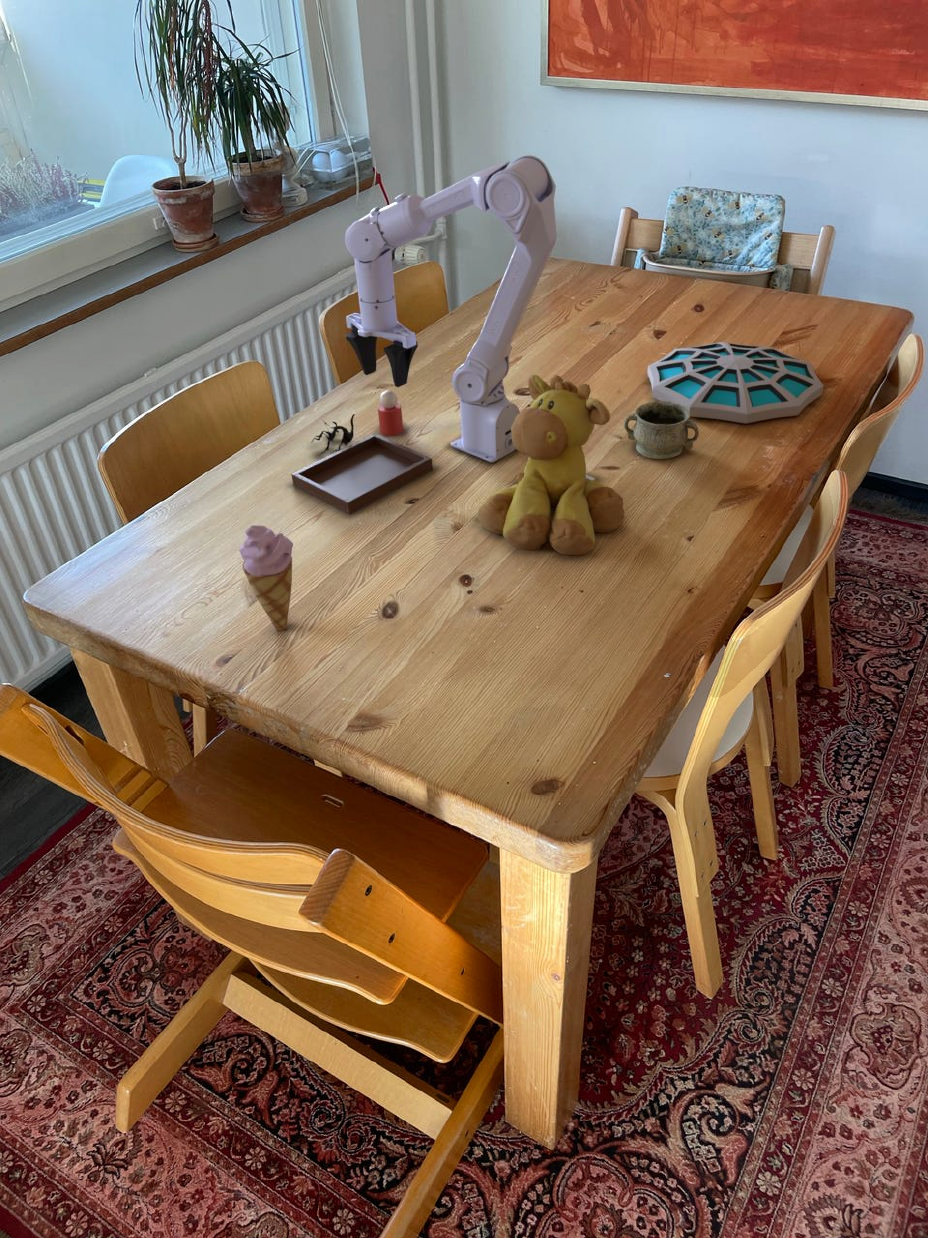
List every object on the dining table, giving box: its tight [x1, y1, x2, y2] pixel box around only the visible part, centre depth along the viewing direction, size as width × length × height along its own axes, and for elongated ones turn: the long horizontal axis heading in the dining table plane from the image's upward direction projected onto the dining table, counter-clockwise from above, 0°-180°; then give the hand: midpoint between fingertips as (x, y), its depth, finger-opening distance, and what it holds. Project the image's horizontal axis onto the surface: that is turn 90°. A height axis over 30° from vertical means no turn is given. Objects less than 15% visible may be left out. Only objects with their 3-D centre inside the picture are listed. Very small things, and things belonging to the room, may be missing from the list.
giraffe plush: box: [477, 374, 626, 556], centre depth 132 cm, size 20×24×19 cm
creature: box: [310, 413, 356, 457], centre depth 156 cm, size 8×5×8 cm
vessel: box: [623, 400, 700, 460], centre depth 150 cm, size 12×9×6 cm
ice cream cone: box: [238, 525, 294, 632], centre depth 115 cm, size 7×6×15 cm
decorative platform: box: [646, 341, 824, 425], centre depth 167 cm, size 31×29×5 cm
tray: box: [290, 433, 434, 515], centre depth 148 cm, size 14×18×2 cm
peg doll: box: [377, 389, 404, 437], centre depth 159 cm, size 4×4×7 cm
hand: (385, 378), depth 155 cm, fingers open, 7 cm apart
